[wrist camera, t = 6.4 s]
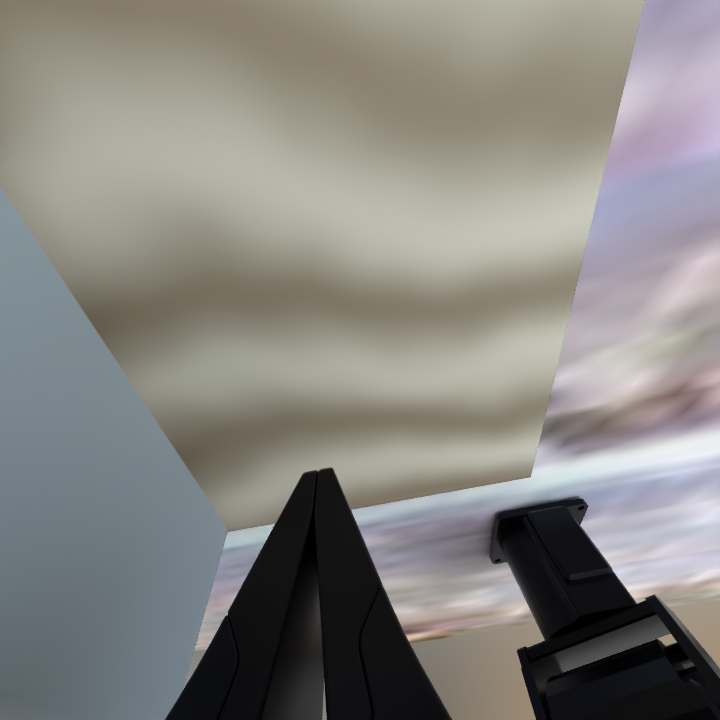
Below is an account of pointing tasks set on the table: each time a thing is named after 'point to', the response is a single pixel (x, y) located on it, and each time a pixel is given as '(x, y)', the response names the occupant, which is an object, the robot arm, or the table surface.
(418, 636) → the table surface
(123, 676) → the gate
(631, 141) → the table surface
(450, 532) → the table surface
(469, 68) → the base board
